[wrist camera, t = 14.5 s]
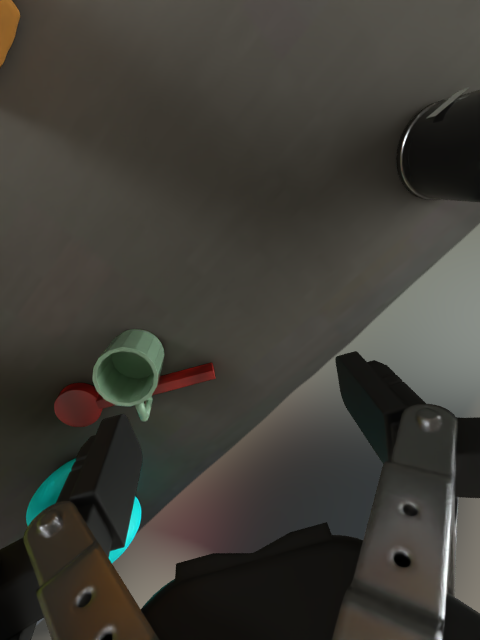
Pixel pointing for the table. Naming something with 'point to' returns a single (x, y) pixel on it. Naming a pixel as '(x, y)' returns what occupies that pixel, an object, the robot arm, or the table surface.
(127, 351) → the mug
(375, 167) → the table surface
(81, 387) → the spoon
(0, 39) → the coffee package
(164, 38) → the table surface
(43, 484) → the donuts
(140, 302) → the table surface
